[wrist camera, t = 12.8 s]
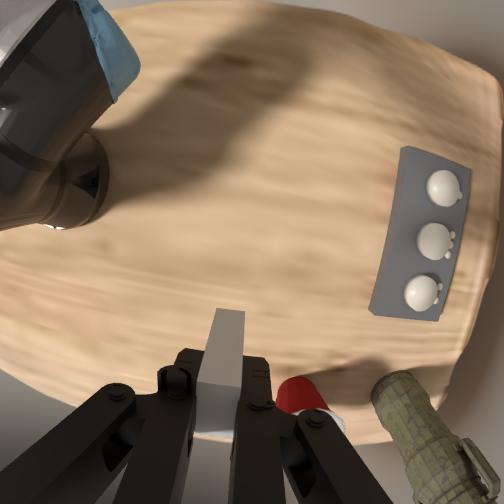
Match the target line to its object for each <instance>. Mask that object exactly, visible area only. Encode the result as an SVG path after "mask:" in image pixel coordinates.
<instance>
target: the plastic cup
mask: <svg viewBox="0 0 504 504" xmlns="http://www.w3.org/2000/svg"><path fill="white" fill-rule="evenodd" d="M275 404H276V406H277V407H278V408H279V409H281V410H282V411H284V412H287V413H290V414H294V415H298V414H299V413H300V412H302V411H303V410H306V409H319V410H323V411H325V412H327V413H329V414H330V415H331V416H332V417H333V419H334V420H335V422H336V423H337V425H338V426H339V427H340V429H341V430H342V432H343V433H345V430H346V428H345V425H344V421H343V419H342V418H340V417H339V416H338V415H337V414H335V413H334V412H333V411H331V410H330V409H329V408H328V406H327V405H326V403H325V402H324V400H323V398H322V397H321V395H320V394H319V393H318V392H317V390H316V388H315V387H314V385H313V384H312V383H311V382H310V381H309V380H308V379H306V378H303V377H293V378H290V379H287V380H286V381H284V382H283V383H282V384H281V386H280V387H279V390H278V394H277V399H276V402H275Z"/></svg>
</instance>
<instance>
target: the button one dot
mask: <svg viewBox="0 0 504 504" xmlns="http://www.w3.org/2000/svg"><path fill="white" fill-rule="evenodd" d="M426 192H427V195H428V198H429V199H430V201H431V202H432V203H433V204H435V205H437V206H444V207H449V206H452V205H453V204H454V203H455V202H456V201H457V199H458V197H459V192H460V188H459V183H458V180H457V178H456V176H455V175H454V174H453V173H452V172H450V171H448V170H440V171H434V172H432V173H431V174H430V175H429V177H428V179H427V182H426Z"/></svg>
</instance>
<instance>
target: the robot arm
mask: <svg viewBox="0 0 504 504" xmlns="http://www.w3.org/2000/svg"><path fill="white" fill-rule="evenodd" d="M139 72H140V60H139V57H138V55H137V53H136V52H135V50H134V48H133V47H132V45H131V43H130V42H129V40H128V39H127V37H126V36H125V34H124V33H123V32H122V30H121V29H120V27H119V26H118V25H117V23H116V22H115V21H114V19H113V18H112V17H111V15H110V14H109V13H108V12H107V11H106V10H104V8H103V6H102V5H101V4H100V3H99V1H98V0H0V231H3V230H7V229H11V228H15V227H20V226H25V225H30V224H34V223H39V224H45V225H46V226H48V227H50V228H53V229H58V230H66V229H71V228H75V227H78V226H81V225H83V224H85V223H86V222H88V221H89V220H90V219H91V218H92V217H93V216H94V215H95V214H96V213H97V211H98V210H99V208H100V207H101V205H102V203H103V200H104V198H105V195H106V192H107V188H108V181H109V168H108V161H107V157H106V154H105V152H104V150H103V148H102V146H101V145H100V143H99V142H98V141H97V140H96V139H95V138H94V137H93V136H92V135H90V134H88V133H86V132H87V131H88V130H89V128H90V127H91V126H92V125H93V124H94V123H95V122H96V121H97V120H98V119H99V117H100V116H101V115H102V114H103V113H104V112H105V111H106V110H107V109H108V108H109V107H110V106H111V105H112V104H115V103H116V102H117V100H118V97H119V96H120V95H121V94H122V93H123V92H124V91H125V90H126V88H127V87H128V86H129V85H130V84H131V83H132V82H133V81H134V80H135V79H136V78H137V76H138V75H139ZM244 323H245V311H237V310H229V309H222V308H217V309H216V312H215V316H214V320H213V323H212V327H211V330H210V334H209V338H208V341H207V345H206V349H205V351H201V350H194V349H188V348H185V349H183V350H182V351H181V352H179V353H178V355H177V358H176V361H175V363H174V365H170V366H165V367H163V368H161V369H160V370H159V371H158V372H157V378H158V391H157V393H153V394H146V395H136V394H135V392H134V390H133V389H132V388H131V387H129V386H128V385H125V384H122V383H111V384H107V385H105V386H104V387H102V388H101V389H100V390H98V391H97V392H96V393H95V394H94V395H92V396H91V397H90V398H89V399H88V400H86V401H85V402H84V403H83V404H82V405H80V406H79V407H78V408H77V409H76V410H75V411H73V412H72V413H71V414H70V415H68V416H67V417H66V418H65V419H64V420H62V421H61V422H60V423H59V424H58V425H57V426H55V427H54V428H53V429H52V430H50V431H49V432H48V433H47V434H46V435H44V436H43V437H42V438H41V439H40V440H38V441H37V442H36V443H35V444H33V445H32V446H31V447H30V448H29V449H27V450H26V451H25V452H24V453H23V454H21V455H20V456H19V457H18V458H16V459H15V460H14V461H13V462H12V463H10V465H8V466H7V467H6V468H4V469H3V470H2V471H1V472H0V504H94V503H95V502H96V501H97V500H98V498H99V497H100V496H101V495H102V493H103V492H104V491H105V490H106V489H107V488H108V486H109V485H110V484H111V483H112V482H113V480H114V479H115V478H116V477H117V476H118V474H119V473H120V472H121V471H122V469H123V468H124V467H125V466H126V465H127V463H128V465H127V467H126V470H125V472H124V475H123V477H122V480H121V483H120V485H119V488H118V490H117V493H116V496H115V498H114V501H113V503H112V504H181V501H182V496H183V491H184V486H185V481H186V476H187V470H188V466H189V461H190V456H191V451H192V446H193V434H199V435H205V436H212V437H220V438H228V439H233V443H232V450H231V456H230V460H231V464H230V477H229V491H228V504H286V499H285V487H284V477H283V469H284V472H285V474H286V476H287V478H288V481H289V483H290V485H291V487H292V489H293V492H294V494H295V496H296V498H297V500H298V503H299V504H393V502H392V501H391V500H390V498H389V497H388V496H387V494H386V493H385V491H384V490H383V488H382V487H381V486H380V484H379V483H378V481H377V480H376V479H375V478H374V476H373V474H372V473H371V472H370V470H369V469H368V467H367V466H366V465H365V463H364V462H363V460H362V459H361V458H360V456H359V455H358V454H357V452H356V450H355V449H354V448H353V446H352V445H351V443H350V442H349V440H348V439H347V438H346V436H345V435H344V433H343V432H342V430H341V429H340V427H339V426H338V425H337V423H336V422H335V420H334V419H333V417H332V416H331V415H330V414H329V413H327V412H325V411H323V410H319V409H306V410H303V411H302V412H300V413H299V414H298V415H294V414H290V413H287V412H284V411H282V410H281V409H279V408H278V407H277V406H276V404H275V402H274V401H273V400H272V390H271V380H270V369H269V364H268V362H267V361H266V360H265V358H262V357H252V356H243V343H244Z"/></svg>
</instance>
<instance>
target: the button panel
mask: <svg viewBox="0 0 504 504" xmlns="http://www.w3.org/2000/svg"><path fill="white" fill-rule="evenodd" d="M440 170H448V171H450V172H452V173H453V174H454V175H455V176H456V178H457V180H458V183H459V188H460V192H459V197H458V199H457V201H456V202H455V203H454V204H453V205H452V206H449V207H444V206H437V205H435V204H433V203H432V202H431V201H430V199H429V198H428V195H427V192H426V182H427V179H428V177H429V175H430V174H431V173H432V172H434V171H440ZM470 176H471V170H470V169H468V168H465V167H463V166H461V165H458V164H456V163H453V162H451V161H449V160H446V159H443V158H441V157H438V156H436V155H433V154H430V153H428V152H425V151H422V150H419V149H417V148H414V147H411V146H406V147H402V148H401V151H400V159H399V167H398V174H397V181H396V187H395V193H394V199H393V205H392V211H391V216H390V221H389V226H388V231H387V236H386V241H385V245H384V250H383V254H382V259H381V263H380V267H379V271H378V275H377V279H376V283H375V287H374V290H373V294H372V298H371V301H370V305H369V308H368V309H369V310H370V311H371V312H372V313H373V315H376V316H385V317H394V318H404V319H414V320H425V321H436V322H438V320H439V317H440V314H441V311H442V308H443V304H444V301H445V298H446V295H447V291H448V288H449V284H450V281H451V277H452V273H453V269H454V266H455V261H456V257H457V253H458V249H459V244H460V239H461V234H462V229H463V224H464V218H465V213H466V206H467V200H468V192H469V185H470ZM430 222H433V223H438V224H442V225H444V226H445V227H446V228H447V229H448V231H449V234H450V239H451V241H450V247H449V250H448V252H447V253H446V255H445V256H444V257H443V258H441V259H439V260H431V259H429V258H427V257H424V256H423V255H421V254H420V252H419V251H418V248H417V244H416V239H417V234H418V232H419V230H420V228H421V227H422V226H423V225H425V224H426V223H430ZM417 274H424V275H426V276H428V277H430V278H431V279H433V280H434V281H435V282H436V284H437V288H438V293H437V297H436V300H435V302H434V303H433V305H432V306H431V307H430V308H428V309H427V310H425V311H415V310H414V309H412V308H411V307H410V306H409V305H408V304H407V303H406V302H405V300H404V296H403V292H404V288H405V285H406V283H407V282H408V280H409V279H410V278H411V277H413V276H415V275H417Z"/></svg>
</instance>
